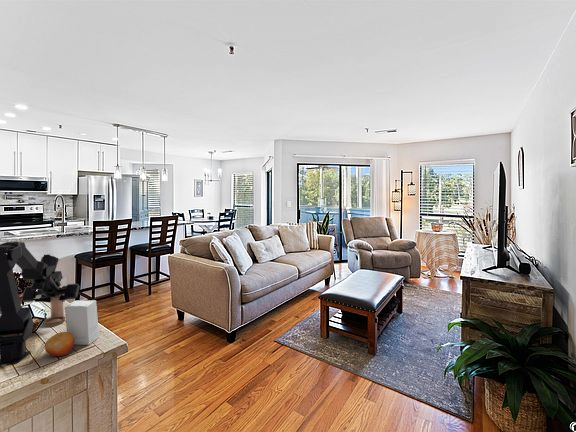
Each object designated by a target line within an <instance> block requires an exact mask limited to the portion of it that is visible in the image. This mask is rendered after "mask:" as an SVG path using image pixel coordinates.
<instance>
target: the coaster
mask: <svg viewBox="0 0 576 432" xmlns="http://www.w3.org/2000/svg"><path fill="white" fill-rule="evenodd" d="M64 323H66V316H65V315H64V316H56V317H51V316H50V317H48V318H46V319H45V320H44V321H43V325H44V326H45V327H55V326H60V325H61V324H64Z"/></svg>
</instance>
